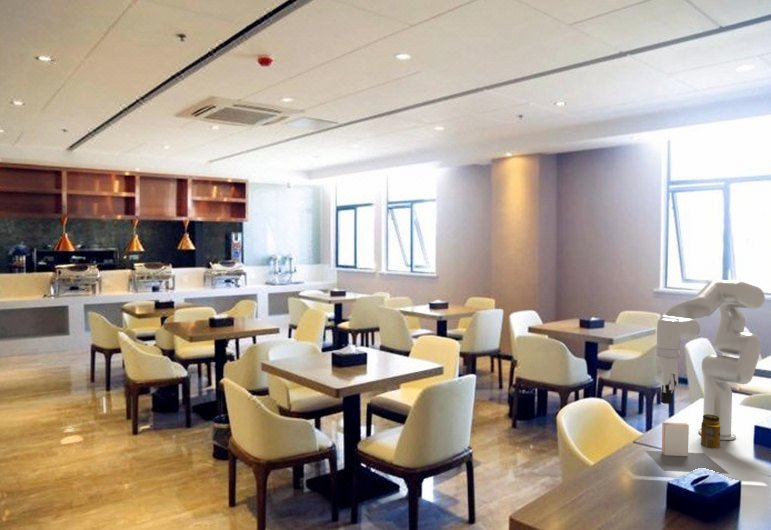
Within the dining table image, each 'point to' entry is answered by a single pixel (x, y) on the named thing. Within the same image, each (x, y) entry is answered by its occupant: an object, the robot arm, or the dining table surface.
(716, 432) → the condiment
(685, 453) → the tile
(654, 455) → the mat
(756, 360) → the robot arm
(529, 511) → the dining table surface
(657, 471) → the dining table surface
